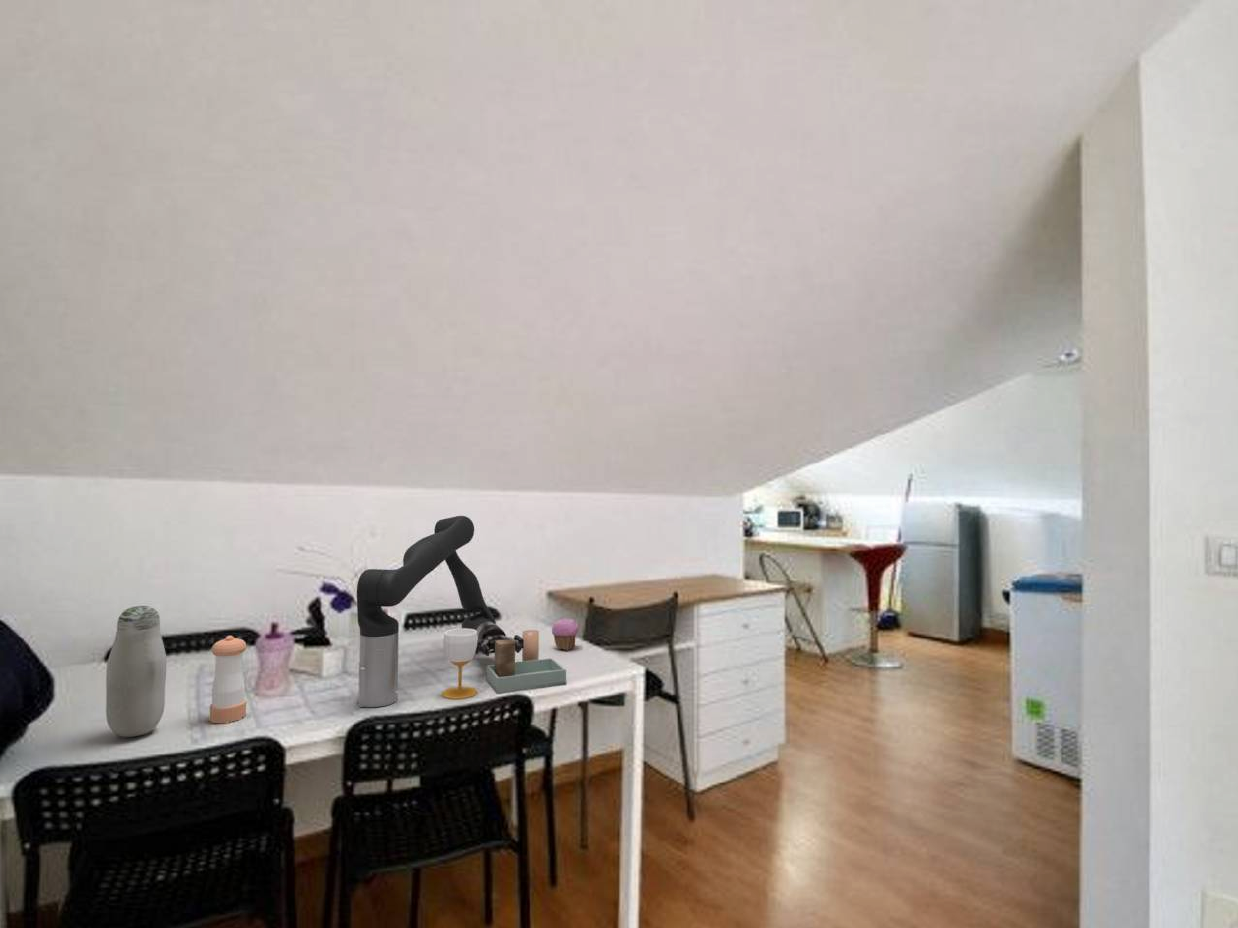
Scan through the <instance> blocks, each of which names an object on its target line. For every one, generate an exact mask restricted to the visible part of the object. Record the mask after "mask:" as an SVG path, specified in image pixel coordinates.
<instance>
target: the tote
mask: <svg viewBox="0 0 1238 928" xmlns="http://www.w3.org/2000/svg"><path fill="white" fill-rule="evenodd" d="M486 681H487V683H488V684H489V685H490V687H491V688H492V690H493V691H494V692H495V693H496V695H498V694H503V693H504V694H505V693H510V692H511V693H512V692H519V691H520V692H521V691H527V690H535V689H542V688H548V687H557V686H561V685H562V686H565V685H566V684H567V670H566V668H565V667H563V665H562V664H560V663H559V662H557V661H556V660H555V659H554V658H552V657H550V658H543V659H538V660H532V661H523V662H522V661H517V662H516V661H515V675H514V676H506V677H498V676H497V675H496V673H495V664H491V665H490V664H489V665H486Z"/></svg>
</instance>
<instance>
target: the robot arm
mask: <svg viewBox="0 0 1238 928" xmlns="http://www.w3.org/2000/svg"><path fill="white" fill-rule="evenodd" d="M433 529H434V530H433V531H434V533H433V534H430V535H427V536H424V537H422V538H421V539H418V540H417V541H416V542H415V543H413V544H412V545H411V546H409V547H408V548H407V549H406V550H405V552H404V555H403V559H402V563H403V564H402V566H401V567H398V568H397V569H383V568H382V569H381V568H379V569H377V568H371V569H366V570H364V571H363V572H362V573H360V575H359V578H358V581H357V583H356V608H357V609H356V612H357V624H358V627H359V662H358V694H357V695H358V699H357V700H358V707H359V708H364V707H365V708H366V707H367V708H378V707H385V706H388V705H392V704H395V702H397V701H398V696H399V639H400V638H399V632H400V631H399V630H400V629H399V628H400V625H399V621H398V619H396V618H395V617H392V616H391V615H389V614H388V613H386V612H385V610H383V608H382V607H385V608H390V607H395V606H397V605H399V604H400V603H402V602H403V601H404V600H405V598H406V597H407V596H408V595H409V594H410V593H411V592H412V591H413V590H414V588H416V586H417V585H418V584H419V583H420V582H421V581H422V580H423V579H424V578H425V577H427V575H429V574H430V573H431V572H432V571H435V569H436V568H438V567H439V566H440V565H441V564H442V563H443V562H444V561H445V563H446V565H447V568H448V569H449V572H450V574H451V576H452V578H453V581H454V583H455V586H456V587H455V588H456V590H457V593H458V594H457V595H458V597H459V601H460V604H461V607H462V608H463V610H465V611H470V610H471V611H472V610H473V611H474V610H479V611H480V612H478V613H475V614H472V615H470V616H468V617H466V618H465V619H464V620H463V621H462V623H461V629H463V628H466V629H474V630H476V631H477V636H478V640H477V647H476V651H475V654H479V653H480V654H482V655H485V657H489V656H490V654H495V641H496V640H506V639H511V640H513V641H514V642H515V653H517V654H518V653H520V652H522V649H523V648H524V639H522V637H521V636H520V635H518V634H515V635H514V636H513V637H510V636H507V635H506V633H505V631H504V630H503V629H502V628H501V627H500V626H499V625H497V621H496V618H495V617H494V615H493V613H492V612H491V611H490V609H489V607H488V606H487V604H486V601H485V599H484V596H483V594H482V589H481V586H480V582H479V580H478V578H477V576H476V575H475V573H474V572H473V571H472V570H471V568H469V567H468V565H466V563H464V561H462V559H461V558H460V556H459V555H458V553H457V550H459V549H460V548H462V547H464V546H466V545H467V544H469V543H470V542H471V541H472V539H473V537H474V535H475V526H474V522H473V521H472V520H471V518H470V517H468V516H464V515H456V516H451V517H448V518H443V519H439V520H438V521H437V522H436V523H435V526H434V528H433ZM475 654H474V655H475Z"/></svg>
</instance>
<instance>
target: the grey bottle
mask: <svg viewBox="0 0 1238 928" xmlns="http://www.w3.org/2000/svg"><path fill="white" fill-rule="evenodd" d="M116 622H117V623H116V632H115V637H114V641H113V645H112V648H111V650H110V653H109V656H108V659H107V664H106V679H105V681H106V682H105V684H106V686H105V690H106V695H105V696H106V697H105V700H106V703H105V705H106V706H105V715H106V716H105V718H106V721H107V725H108V727H109V729H110V730H111V731H112V733H114V734H116V735H117V736H120V737H124V738H132V737H133V738H134V737H138V736H143V735H145V734H148V733H149V732H151V731H153V730H154V729H155V728H156V727H157V726H158V724H159V723H160V721H161V719H162V717H163V715H164V711H165V703H166V681H167V655H166V648H165V645H164V640H163V638H162V633H161V618H160V614H159V612H158V610H156V609H155V608H154V607H152V606H148V605H136V606H131V607H129V608H126V609H125V610H123V611H122V612H121V614H120V615H119V617H118V619H117V621H116Z"/></svg>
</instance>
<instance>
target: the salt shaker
mask: <svg viewBox="0 0 1238 928" xmlns="http://www.w3.org/2000/svg"><path fill="white" fill-rule="evenodd" d="M246 649H247V643H246V641H245V640H243V639H241V638H236V637H234V636H232V635H228V636H226V637H225V638H224V639H221V640H218V641H216V642H215V643H213V645H212V647H211V652H212V655H213V656H214V657H215V663H214V664H215V665H214V667H215V668H214V677H213V682H212V687H211V688H212V689H211V704H210V706H209V722H210V721H211V722H213V723H212V724H214V723H225V724H228V723H227V722H231V723H234V722H233V721H235V722H237V721H236V720H238V721H240V720H239V719H241V718H242V717H244V716H245V715H246V716H247V700H246V698H245V691H246V690H245V689H246V687H245V686H246V685H245V679H244V672H243V654H244V652H245V651H246ZM246 716H245V717H246ZM245 717H244V718H245ZM241 720H242V719H241ZM211 722H210V723H211Z"/></svg>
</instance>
